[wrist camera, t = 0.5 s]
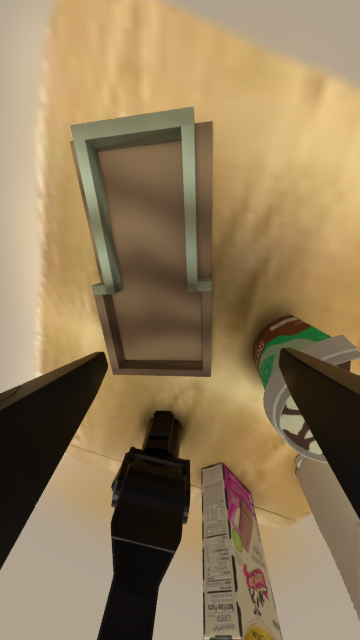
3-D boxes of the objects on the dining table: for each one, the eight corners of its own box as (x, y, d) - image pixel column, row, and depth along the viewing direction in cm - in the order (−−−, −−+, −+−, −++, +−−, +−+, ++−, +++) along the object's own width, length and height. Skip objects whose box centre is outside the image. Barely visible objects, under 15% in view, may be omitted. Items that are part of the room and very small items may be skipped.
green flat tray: (209, 364, 25) (210, 376, 22) (120, 363, 26) (113, 374, 24) (211, 125, 15) (214, 103, 13) (73, 144, 17) (53, 127, 15)
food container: (236, 314, 22) (263, 365, 12) (291, 303, 20) (365, 349, 11) (249, 391, 26) (277, 472, 17) (295, 386, 25) (352, 468, 15)
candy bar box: (252, 492, 35) (293, 677, 20) (230, 498, 37) (252, 674, 22) (223, 460, 32) (243, 647, 17) (200, 467, 34) (200, 645, 19)
